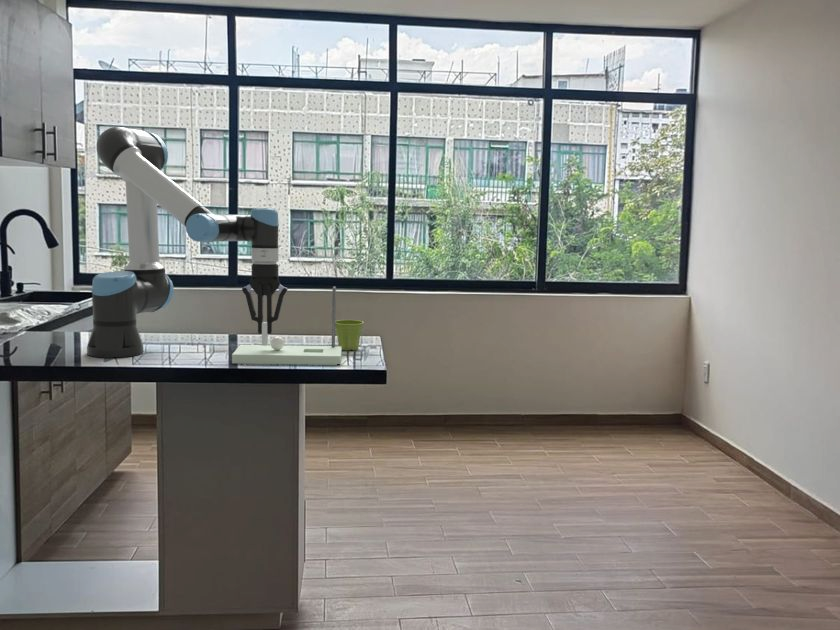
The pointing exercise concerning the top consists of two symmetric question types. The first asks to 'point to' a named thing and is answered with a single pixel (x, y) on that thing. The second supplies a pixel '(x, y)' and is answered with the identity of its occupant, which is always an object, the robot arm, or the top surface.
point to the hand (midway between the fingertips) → (265, 344)
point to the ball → (277, 343)
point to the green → (292, 351)
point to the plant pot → (348, 333)
